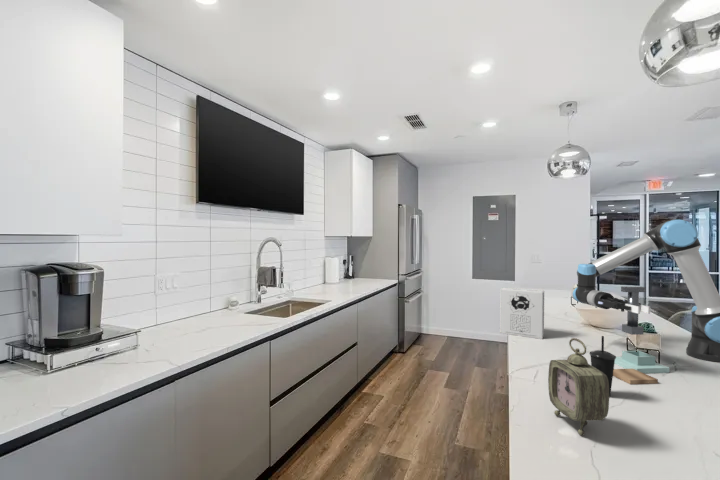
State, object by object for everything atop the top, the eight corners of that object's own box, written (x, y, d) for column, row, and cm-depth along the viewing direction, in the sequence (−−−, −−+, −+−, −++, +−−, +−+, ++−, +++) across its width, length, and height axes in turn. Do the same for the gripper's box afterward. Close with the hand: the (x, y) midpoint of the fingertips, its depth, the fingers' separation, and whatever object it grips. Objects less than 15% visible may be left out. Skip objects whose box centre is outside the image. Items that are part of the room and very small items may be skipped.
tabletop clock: (547, 413, 111) (548, 332, 111) (575, 412, 112) (576, 332, 111) (579, 439, 97) (580, 346, 96) (611, 438, 97) (613, 346, 97)
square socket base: (639, 360, 159) (639, 348, 159) (669, 372, 145) (669, 359, 145) (609, 361, 157) (609, 348, 157) (637, 373, 144) (637, 359, 143)
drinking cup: (620, 399, 121) (620, 340, 120) (594, 397, 122) (595, 338, 122) (609, 390, 128) (609, 334, 128) (585, 388, 130) (586, 332, 129)
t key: (637, 331, 151) (638, 286, 151) (647, 334, 146) (648, 287, 146) (617, 331, 151) (618, 286, 151) (627, 334, 146) (628, 287, 146)
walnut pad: (632, 372, 145) (632, 368, 145) (657, 383, 134) (657, 379, 134) (607, 373, 144) (607, 369, 144) (630, 384, 133) (630, 380, 133)
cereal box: (543, 335, 198) (544, 290, 197) (542, 339, 191) (543, 292, 191) (502, 330, 209) (502, 287, 209) (499, 333, 203) (500, 288, 202)
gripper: (617, 307, 167) (663, 319, 144) (583, 307, 166) (624, 319, 143) (618, 291, 167) (664, 300, 144) (583, 291, 166) (624, 300, 142)
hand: (644, 310), depth 143 cm, fingers closed on t key, 3 cm apart
